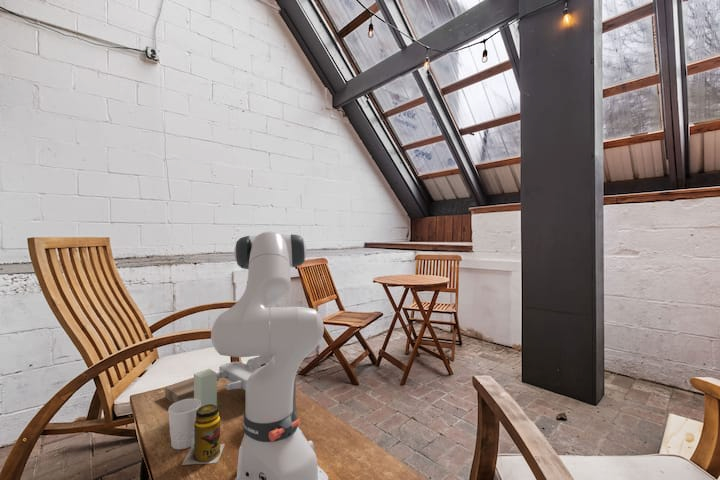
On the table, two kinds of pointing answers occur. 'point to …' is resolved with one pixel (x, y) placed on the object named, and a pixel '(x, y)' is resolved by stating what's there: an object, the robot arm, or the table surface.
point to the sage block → (205, 387)
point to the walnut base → (180, 391)
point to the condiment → (206, 437)
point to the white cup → (183, 423)
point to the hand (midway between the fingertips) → (219, 382)
